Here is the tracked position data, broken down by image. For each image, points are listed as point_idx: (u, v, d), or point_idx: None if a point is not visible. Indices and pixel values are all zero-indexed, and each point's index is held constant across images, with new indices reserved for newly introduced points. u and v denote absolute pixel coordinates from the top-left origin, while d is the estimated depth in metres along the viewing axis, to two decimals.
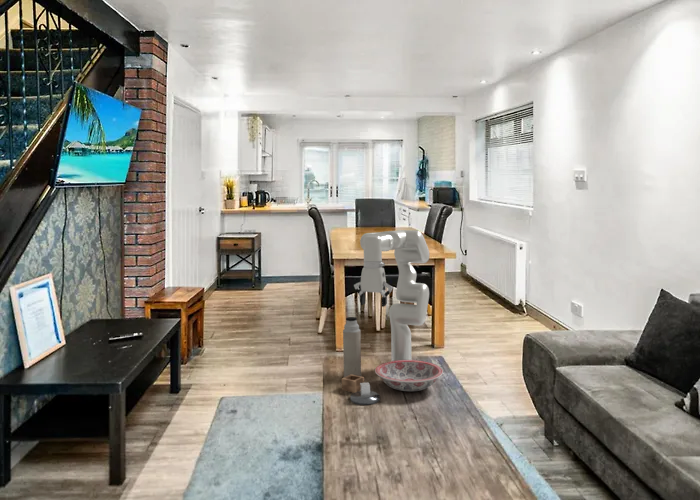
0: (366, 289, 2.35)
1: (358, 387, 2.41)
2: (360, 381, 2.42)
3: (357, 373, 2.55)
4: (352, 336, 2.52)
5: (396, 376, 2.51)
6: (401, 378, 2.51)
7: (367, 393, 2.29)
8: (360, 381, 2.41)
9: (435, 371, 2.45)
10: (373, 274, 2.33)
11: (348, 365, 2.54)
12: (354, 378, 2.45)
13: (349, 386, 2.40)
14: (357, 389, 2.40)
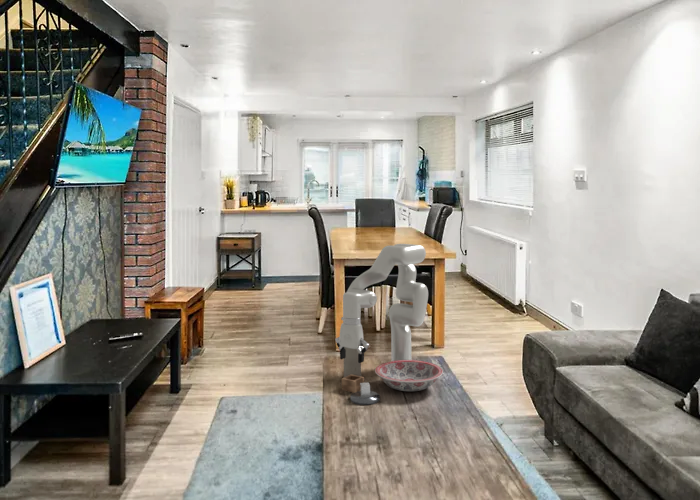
0: None
1: (358, 387, 2.41)
2: (360, 381, 2.42)
3: (357, 373, 2.55)
4: None
5: (396, 376, 2.51)
6: (401, 378, 2.51)
7: (367, 393, 2.29)
8: (360, 381, 2.41)
9: (435, 371, 2.45)
10: None
11: (348, 365, 2.54)
12: (354, 378, 2.45)
13: (349, 386, 2.40)
14: (357, 389, 2.40)
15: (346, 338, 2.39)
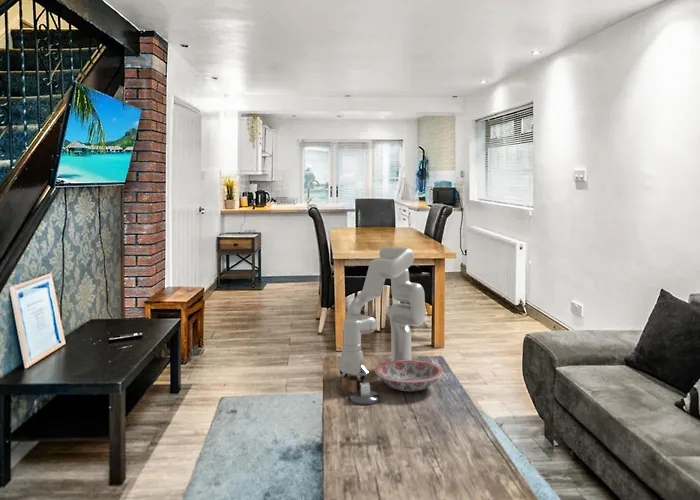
0: None
1: None
2: None
3: None
4: None
5: (396, 376, 2.51)
6: (401, 378, 2.51)
7: (367, 393, 2.29)
8: None
9: (435, 371, 2.45)
10: None
11: None
12: (354, 378, 2.45)
13: (349, 386, 2.40)
14: (357, 389, 2.40)
15: (347, 364, 2.40)
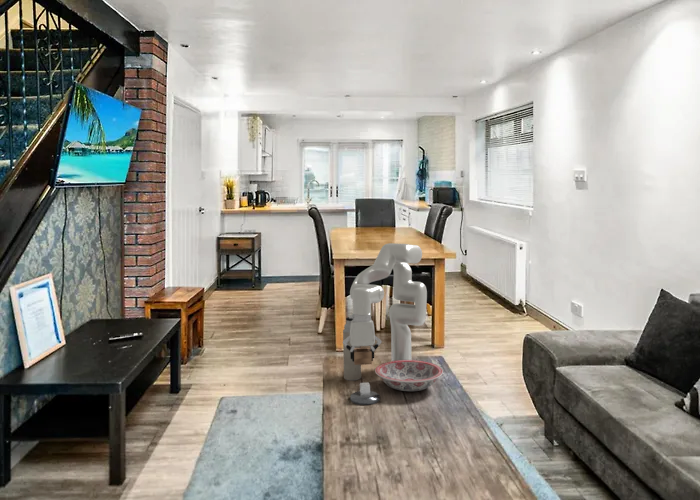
0: None
1: None
2: None
3: (357, 373, 2.55)
4: None
5: (396, 376, 2.51)
6: (401, 378, 2.51)
7: (367, 393, 2.29)
8: (370, 351, 2.31)
9: (435, 371, 2.45)
10: None
11: (348, 365, 2.54)
12: (359, 351, 2.33)
13: (364, 358, 2.28)
14: None
15: (360, 336, 2.27)
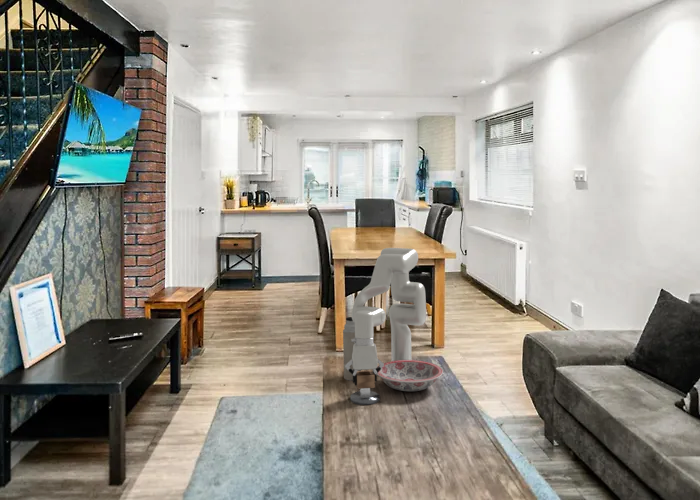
0: None
1: None
2: None
3: None
4: (352, 336, 2.52)
5: (396, 376, 2.51)
6: (401, 378, 2.51)
7: (367, 393, 2.29)
8: None
9: (435, 371, 2.45)
10: None
11: None
12: (361, 374, 2.32)
13: (367, 382, 2.27)
14: None
15: (363, 360, 2.26)
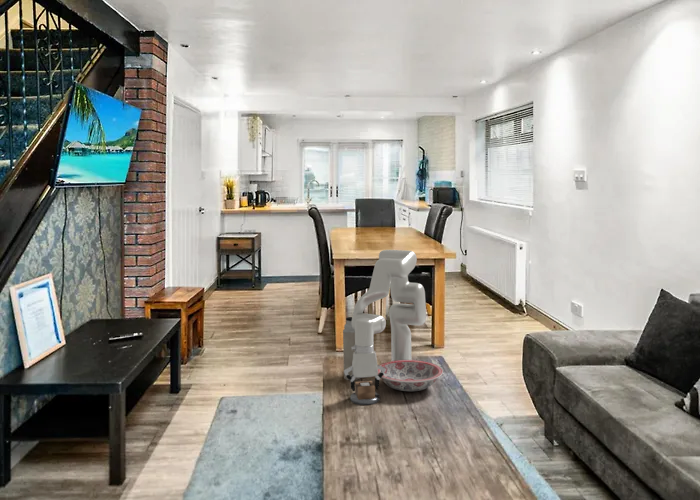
0: None
1: None
2: None
3: None
4: (352, 336, 2.52)
5: (396, 376, 2.51)
6: (401, 378, 2.51)
7: None
8: None
9: (435, 371, 2.45)
10: None
11: (348, 365, 2.54)
12: None
13: (368, 393, 2.27)
14: None
15: (363, 367, 2.27)
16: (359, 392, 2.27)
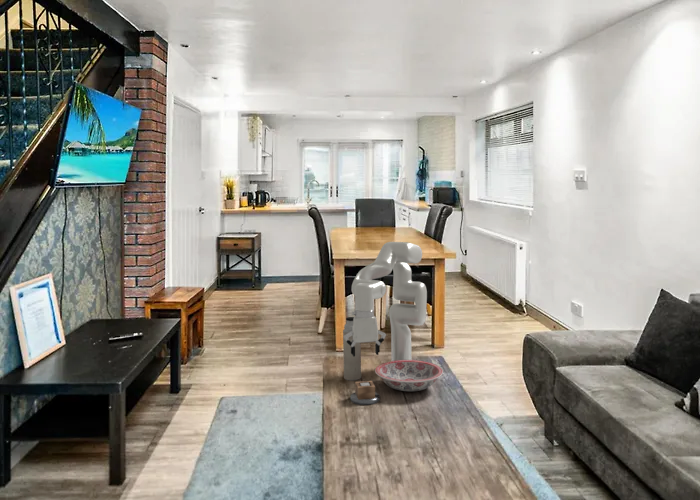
0: None
1: None
2: None
3: (357, 373, 2.55)
4: None
5: (396, 376, 2.51)
6: (401, 378, 2.51)
7: None
8: None
9: (435, 371, 2.45)
10: None
11: (348, 365, 2.54)
12: None
13: (368, 393, 2.27)
14: None
15: (364, 332, 2.26)
16: (359, 392, 2.27)
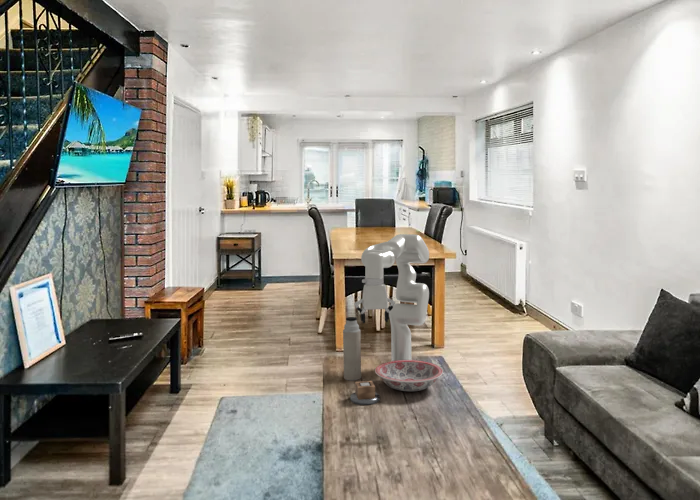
0: None
1: None
2: None
3: (357, 373, 2.55)
4: (352, 336, 2.52)
5: (396, 376, 2.51)
6: (401, 378, 2.51)
7: None
8: None
9: (435, 371, 2.45)
10: None
11: (348, 365, 2.54)
12: None
13: (368, 393, 2.27)
14: None
15: (374, 299, 2.33)
16: (359, 392, 2.27)
